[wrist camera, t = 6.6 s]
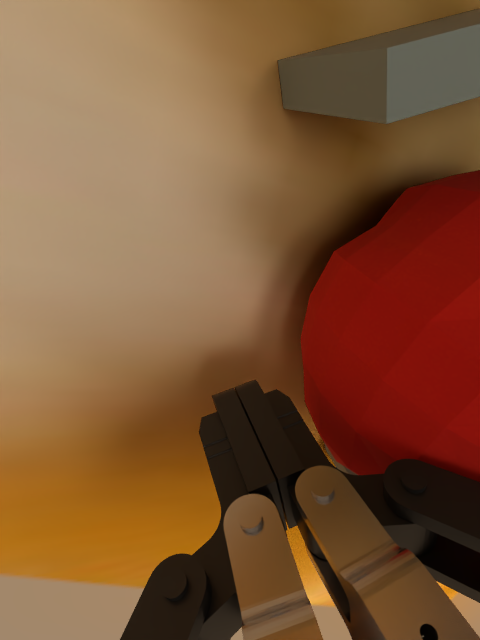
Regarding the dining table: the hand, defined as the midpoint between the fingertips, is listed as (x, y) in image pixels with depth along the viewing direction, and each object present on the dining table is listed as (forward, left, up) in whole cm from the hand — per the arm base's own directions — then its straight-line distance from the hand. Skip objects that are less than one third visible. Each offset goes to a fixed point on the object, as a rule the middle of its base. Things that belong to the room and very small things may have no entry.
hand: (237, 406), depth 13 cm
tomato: (-8, 0, -3) cm, 9 cm away
